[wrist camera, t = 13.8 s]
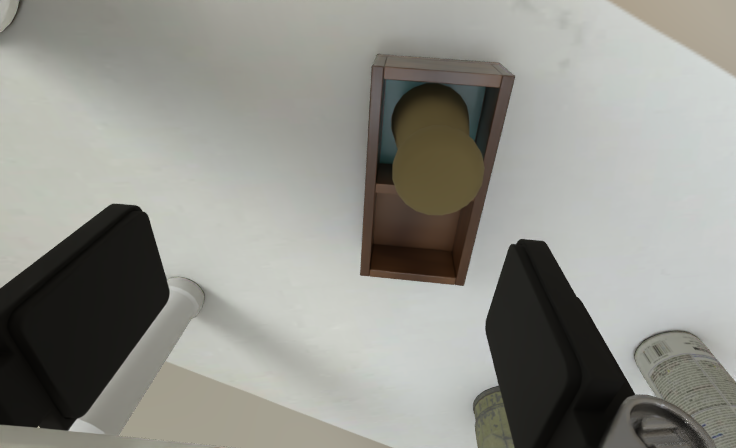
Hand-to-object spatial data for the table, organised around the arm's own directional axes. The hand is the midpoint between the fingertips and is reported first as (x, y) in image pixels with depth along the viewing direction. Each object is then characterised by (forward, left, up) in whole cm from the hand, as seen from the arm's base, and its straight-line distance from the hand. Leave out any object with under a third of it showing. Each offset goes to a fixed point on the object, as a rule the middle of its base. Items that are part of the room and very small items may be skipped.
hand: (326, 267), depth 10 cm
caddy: (+4, -7, -23) cm, 25 cm away
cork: (+4, -3, -22) cm, 23 cm away
